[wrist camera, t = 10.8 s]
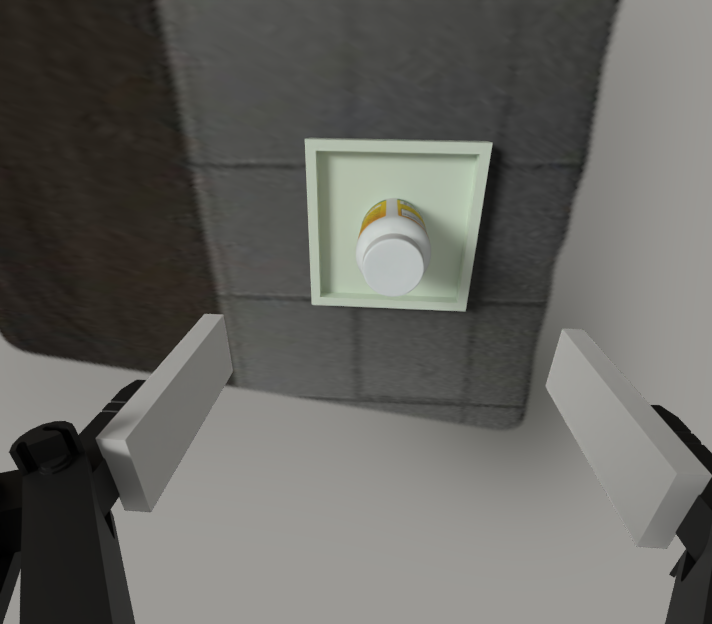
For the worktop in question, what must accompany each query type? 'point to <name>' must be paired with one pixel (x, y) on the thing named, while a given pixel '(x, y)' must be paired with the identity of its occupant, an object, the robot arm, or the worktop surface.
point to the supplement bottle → (393, 247)
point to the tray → (404, 181)
